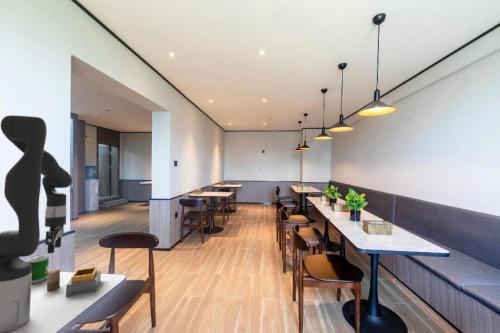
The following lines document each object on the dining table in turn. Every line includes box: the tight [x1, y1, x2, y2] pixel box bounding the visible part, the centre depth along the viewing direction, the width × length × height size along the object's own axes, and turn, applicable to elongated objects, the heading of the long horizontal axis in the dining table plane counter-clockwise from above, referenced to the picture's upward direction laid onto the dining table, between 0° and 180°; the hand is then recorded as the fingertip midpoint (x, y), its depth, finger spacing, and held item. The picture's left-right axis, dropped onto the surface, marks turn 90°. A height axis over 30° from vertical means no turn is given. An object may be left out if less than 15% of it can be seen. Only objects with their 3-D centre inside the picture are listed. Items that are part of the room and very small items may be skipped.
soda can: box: [28, 253, 50, 284], centre depth 111 cm, size 8×8×12 cm
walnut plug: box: [46, 268, 61, 292], centre depth 103 cm, size 4×4×8 cm
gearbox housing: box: [65, 267, 102, 297], centre depth 104 cm, size 11×11×8 cm
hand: (54, 250), depth 103 cm, fingers open, 8 cm apart
